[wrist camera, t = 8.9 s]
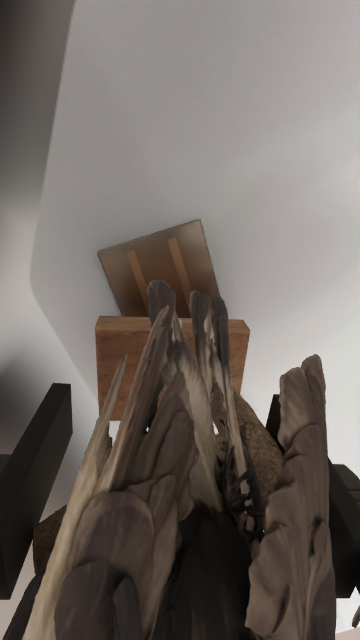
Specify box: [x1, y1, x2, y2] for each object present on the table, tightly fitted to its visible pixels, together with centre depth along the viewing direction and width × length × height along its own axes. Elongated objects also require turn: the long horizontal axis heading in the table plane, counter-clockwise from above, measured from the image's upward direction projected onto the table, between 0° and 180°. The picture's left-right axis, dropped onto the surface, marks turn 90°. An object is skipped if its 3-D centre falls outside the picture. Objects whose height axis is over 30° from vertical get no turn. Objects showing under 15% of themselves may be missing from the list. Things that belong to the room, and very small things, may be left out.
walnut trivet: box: [97, 219, 220, 319], centre depth 31 cm, size 12×10×1 cm
